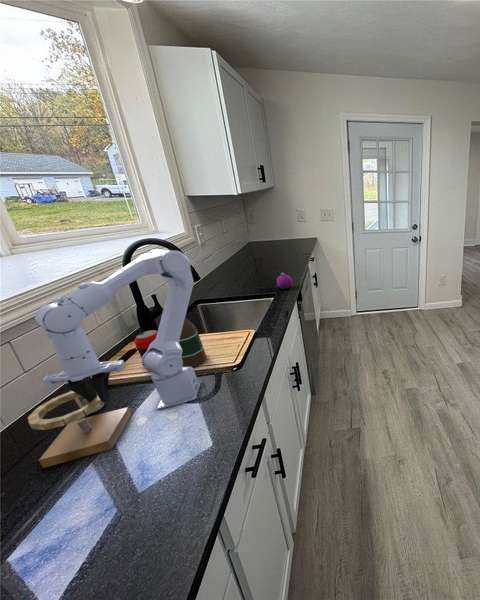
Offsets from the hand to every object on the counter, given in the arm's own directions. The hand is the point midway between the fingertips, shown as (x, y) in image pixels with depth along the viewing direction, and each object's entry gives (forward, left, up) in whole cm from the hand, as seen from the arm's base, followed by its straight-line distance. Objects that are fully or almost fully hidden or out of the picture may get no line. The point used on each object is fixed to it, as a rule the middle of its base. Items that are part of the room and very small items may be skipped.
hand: (100, 400), depth 77 cm
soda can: (0, -35, -11) cm, 36 cm away
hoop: (+6, 0, 0) cm, 6 cm away
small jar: (+11, -15, -11) cm, 21 cm away
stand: (+6, -1, -10) cm, 12 cm away
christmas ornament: (-47, -93, -5) cm, 104 cm away
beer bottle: (-12, -30, -11) cm, 34 cm away
